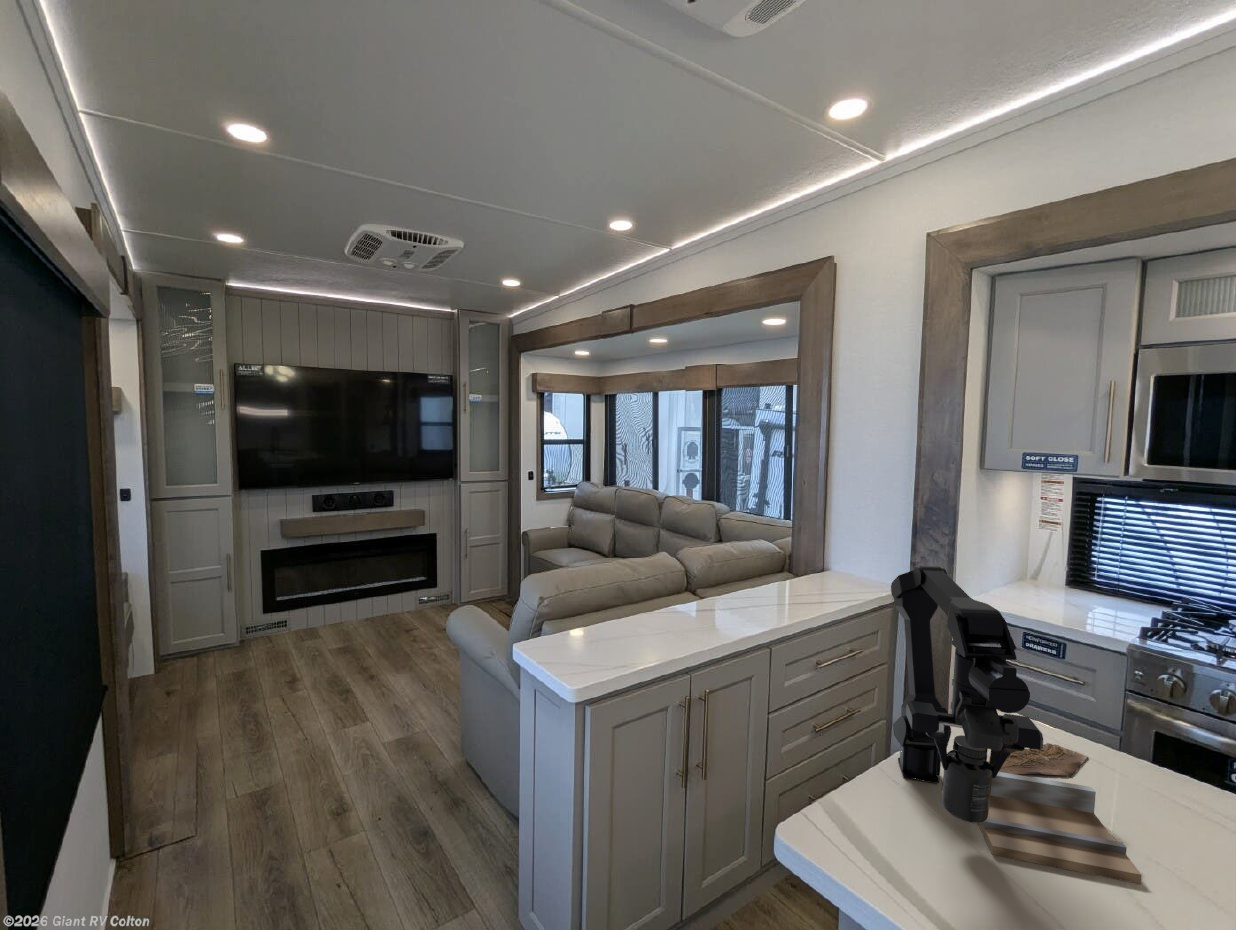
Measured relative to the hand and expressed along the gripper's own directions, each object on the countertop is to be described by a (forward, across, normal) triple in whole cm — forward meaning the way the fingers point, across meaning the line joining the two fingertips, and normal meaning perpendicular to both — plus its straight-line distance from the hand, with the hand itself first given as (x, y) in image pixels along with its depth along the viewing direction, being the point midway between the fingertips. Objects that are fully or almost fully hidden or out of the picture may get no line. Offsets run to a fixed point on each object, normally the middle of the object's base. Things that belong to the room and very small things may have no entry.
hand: (968, 772), depth 96 cm
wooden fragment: (+13, +20, +30) cm, 39 cm away
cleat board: (+12, +14, +6) cm, 19 cm away
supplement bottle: (+7, 0, 0) cm, 7 cm away
